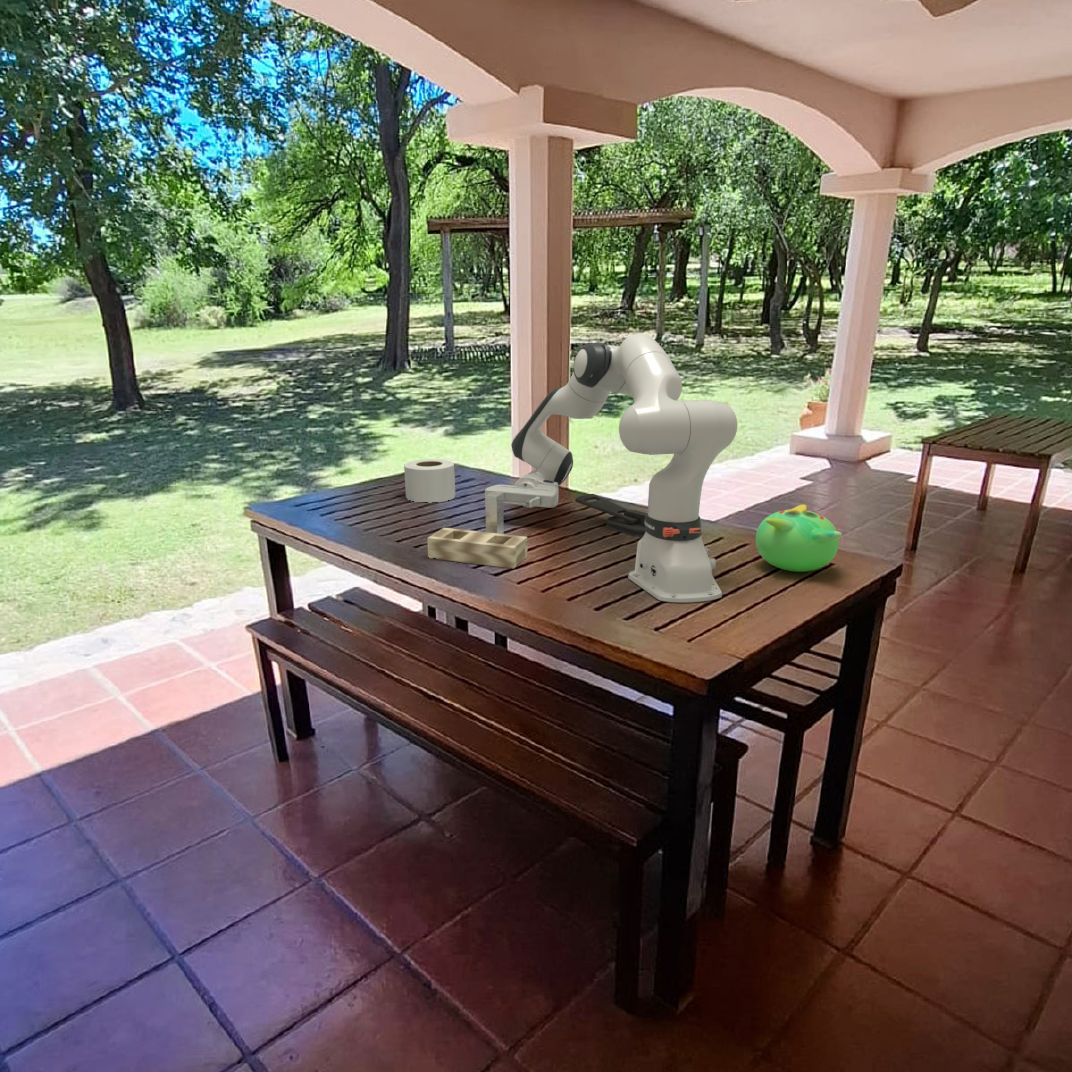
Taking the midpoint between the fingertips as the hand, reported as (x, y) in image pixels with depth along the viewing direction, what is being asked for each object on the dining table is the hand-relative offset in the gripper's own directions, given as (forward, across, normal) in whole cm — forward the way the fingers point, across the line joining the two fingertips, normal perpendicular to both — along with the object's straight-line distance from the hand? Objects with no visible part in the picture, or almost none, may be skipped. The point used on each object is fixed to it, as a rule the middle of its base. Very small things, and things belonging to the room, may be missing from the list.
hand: (511, 502), depth 196 cm
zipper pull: (-14, +25, +8) cm, 30 cm away
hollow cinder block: (+23, 0, +8) cm, 24 cm away
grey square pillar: (+12, 0, +8) cm, 14 cm away
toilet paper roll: (-25, -37, +8) cm, 46 cm away
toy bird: (+6, +72, +8) cm, 73 cm away
